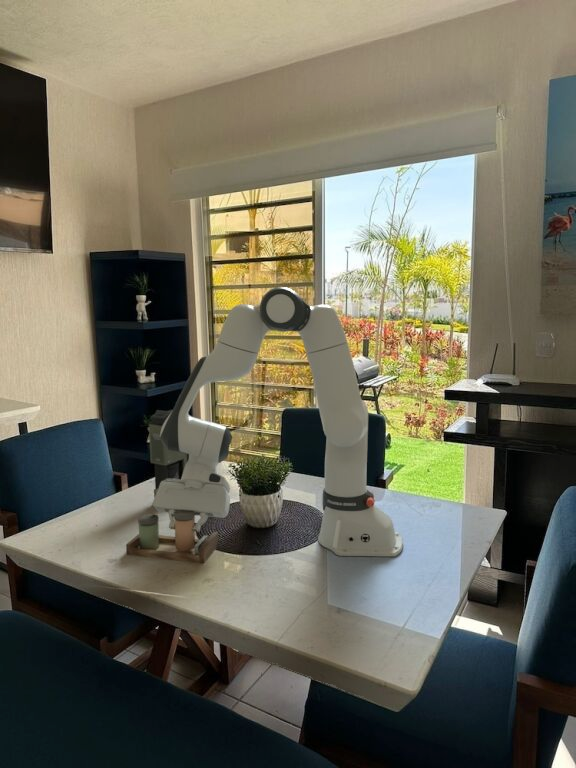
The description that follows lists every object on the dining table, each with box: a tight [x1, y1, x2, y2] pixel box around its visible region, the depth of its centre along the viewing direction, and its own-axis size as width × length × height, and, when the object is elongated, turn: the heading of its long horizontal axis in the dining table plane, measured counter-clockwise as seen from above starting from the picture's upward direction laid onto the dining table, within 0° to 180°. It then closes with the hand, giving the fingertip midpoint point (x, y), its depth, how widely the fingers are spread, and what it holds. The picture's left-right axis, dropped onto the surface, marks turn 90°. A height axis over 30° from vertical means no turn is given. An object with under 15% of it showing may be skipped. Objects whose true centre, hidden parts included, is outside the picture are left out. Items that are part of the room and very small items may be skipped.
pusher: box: [194, 535, 209, 555], centre depth 139 cm, size 2×6×3 cm, turn 167°
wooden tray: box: [125, 531, 219, 564], centre depth 141 cm, size 21×10×4 cm, turn 77°
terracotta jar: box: [174, 510, 196, 551], centre depth 139 cm, size 5×5×9 cm
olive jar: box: [137, 514, 160, 550], centre depth 142 cm, size 5×5×8 cm
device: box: [148, 409, 189, 499], centre depth 175 cm, size 14×8×30 cm, turn 150°
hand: (183, 529), depth 139 cm, fingers closed on terracotta jar, 5 cm apart
